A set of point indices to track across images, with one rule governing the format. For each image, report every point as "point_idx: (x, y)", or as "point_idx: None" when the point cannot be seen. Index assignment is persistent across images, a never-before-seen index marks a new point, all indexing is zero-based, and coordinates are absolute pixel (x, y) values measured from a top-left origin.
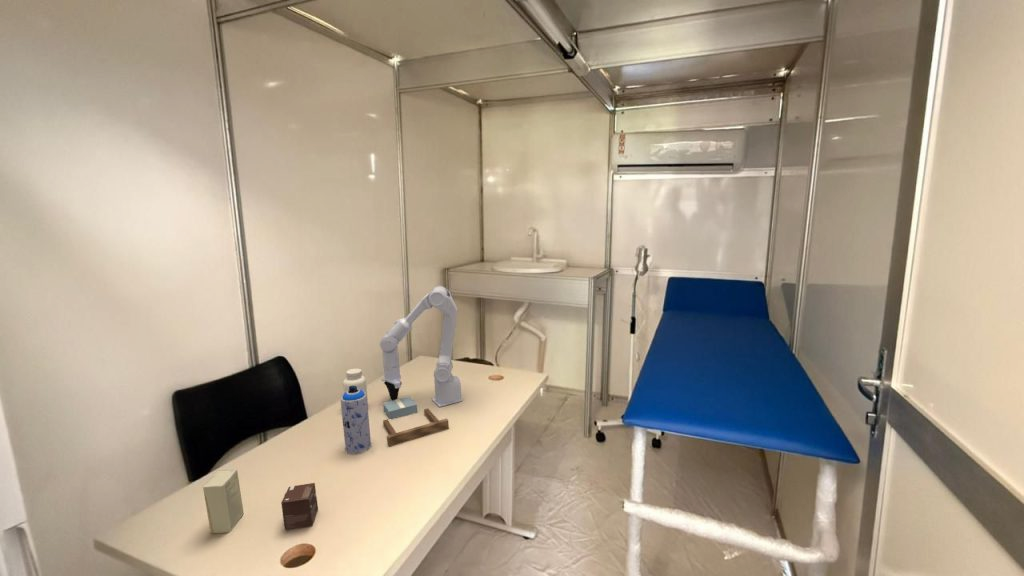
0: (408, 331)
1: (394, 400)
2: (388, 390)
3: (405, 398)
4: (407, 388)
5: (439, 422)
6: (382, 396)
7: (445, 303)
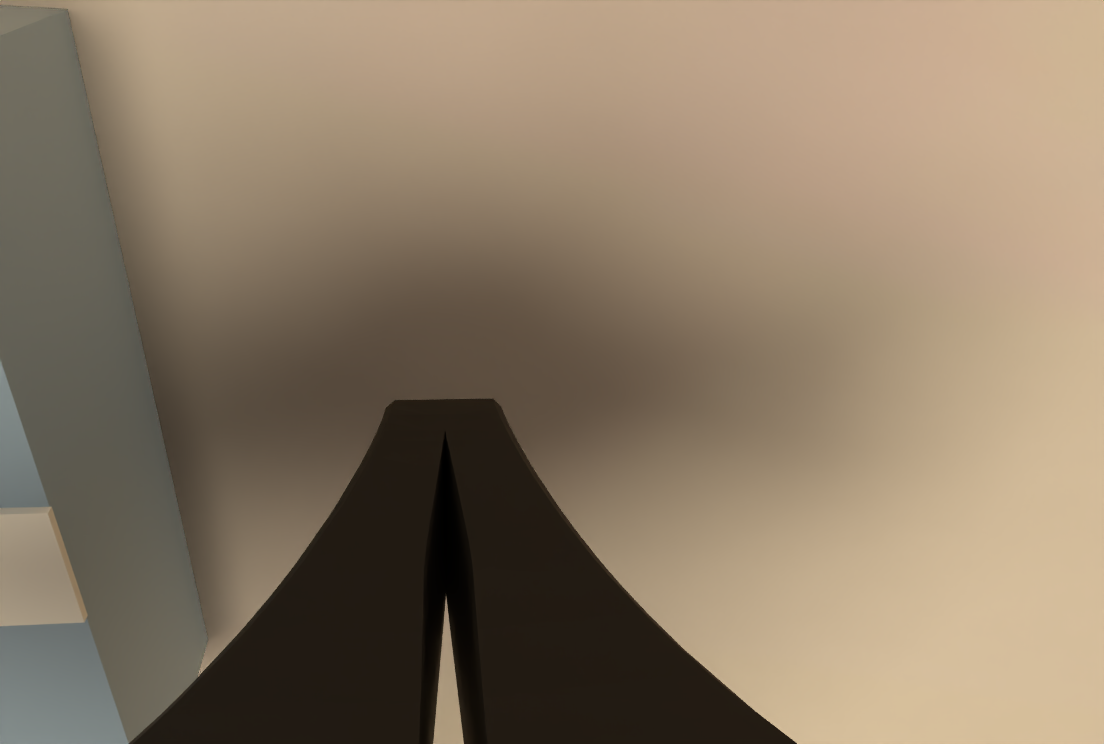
0: None
1: (18, 494)
2: (483, 607)
3: (57, 738)
4: (934, 704)
5: None
6: (1044, 256)
7: None
